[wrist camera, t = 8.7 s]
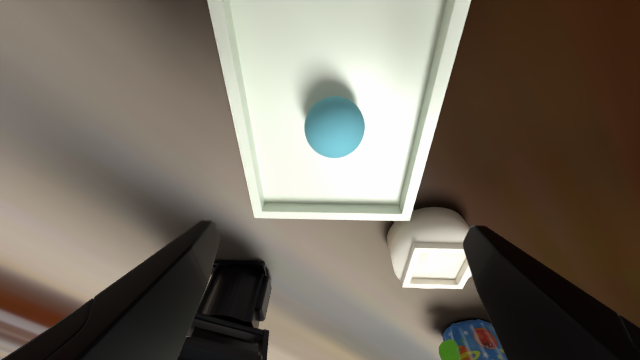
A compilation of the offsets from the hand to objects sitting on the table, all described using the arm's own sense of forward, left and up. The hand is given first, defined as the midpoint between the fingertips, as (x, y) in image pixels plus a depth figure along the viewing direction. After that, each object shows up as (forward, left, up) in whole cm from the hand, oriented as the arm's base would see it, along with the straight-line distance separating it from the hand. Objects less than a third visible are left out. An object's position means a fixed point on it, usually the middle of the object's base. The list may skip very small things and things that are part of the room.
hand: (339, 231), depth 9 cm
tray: (0, 0, -12) cm, 12 cm away
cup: (+10, -13, -12) cm, 20 cm away
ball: (0, 0, -11) cm, 11 cm away
